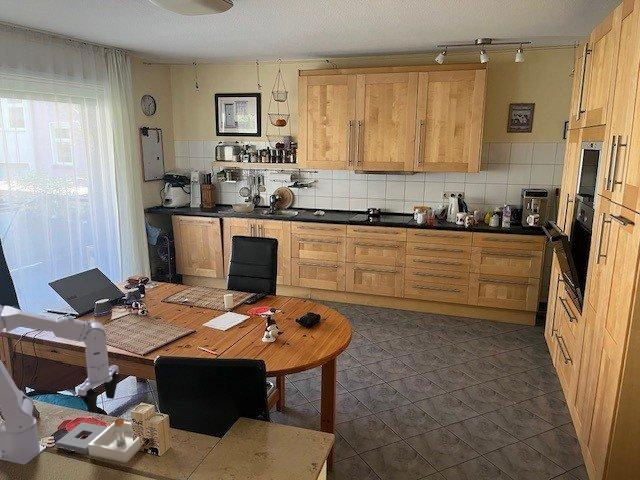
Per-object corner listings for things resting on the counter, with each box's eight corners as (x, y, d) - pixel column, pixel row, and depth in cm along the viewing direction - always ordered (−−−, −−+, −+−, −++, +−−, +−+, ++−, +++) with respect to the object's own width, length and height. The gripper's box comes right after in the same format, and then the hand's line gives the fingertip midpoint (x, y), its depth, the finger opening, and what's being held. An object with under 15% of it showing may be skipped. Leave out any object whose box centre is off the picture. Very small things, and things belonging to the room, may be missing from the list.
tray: (89, 455, 131) (87, 444, 130) (117, 429, 143) (116, 419, 142) (125, 463, 128) (124, 452, 128) (151, 436, 140) (151, 426, 139)
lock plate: (56, 448, 134) (56, 442, 134) (82, 427, 143) (81, 422, 143) (86, 454, 132) (85, 448, 131) (110, 433, 141) (109, 427, 140)
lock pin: (114, 445, 134) (112, 422, 133) (120, 440, 137) (118, 417, 135) (122, 447, 134) (119, 423, 132) (127, 442, 136) (125, 419, 135)
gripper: (91, 377, 128) (95, 420, 131) (125, 353, 142) (129, 394, 145) (69, 373, 130) (75, 416, 133) (105, 350, 144) (109, 390, 147)
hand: (101, 404), depth 139 cm, fingers open, 7 cm apart
